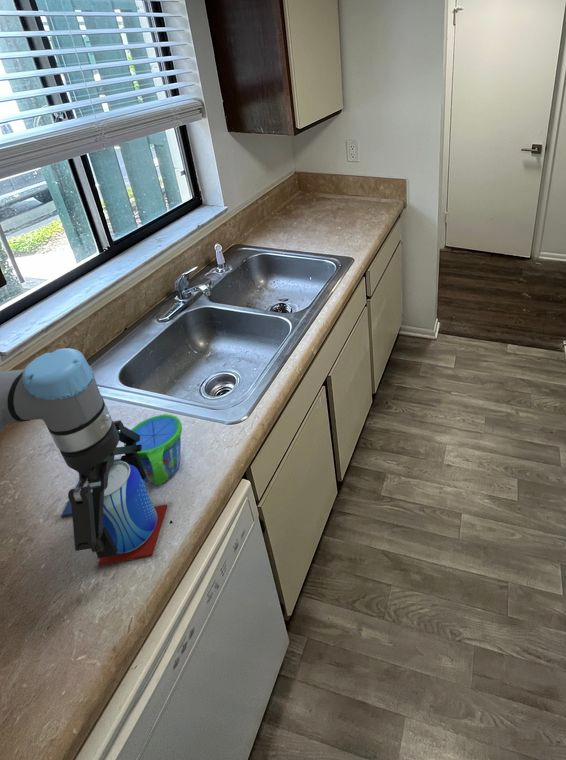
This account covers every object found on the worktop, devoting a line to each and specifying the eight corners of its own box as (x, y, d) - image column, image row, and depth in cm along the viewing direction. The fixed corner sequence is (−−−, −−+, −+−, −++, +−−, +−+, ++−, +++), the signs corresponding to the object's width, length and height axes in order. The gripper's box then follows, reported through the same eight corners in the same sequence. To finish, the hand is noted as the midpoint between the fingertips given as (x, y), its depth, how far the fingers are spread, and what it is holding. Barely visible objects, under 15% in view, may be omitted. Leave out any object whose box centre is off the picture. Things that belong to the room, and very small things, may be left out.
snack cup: (188, 489, 89) (180, 450, 86) (129, 510, 85) (118, 470, 82) (188, 436, 103) (181, 401, 100) (137, 452, 98) (128, 415, 95)
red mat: (98, 565, 78) (97, 564, 78) (119, 514, 86) (118, 512, 86) (152, 555, 80) (151, 553, 79) (167, 506, 88) (166, 504, 87)
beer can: (162, 538, 82) (138, 484, 75) (109, 567, 77) (79, 513, 70) (156, 501, 88) (133, 447, 81) (107, 526, 84) (79, 472, 77)
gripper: (73, 506, 60) (118, 588, 69) (139, 374, 82) (167, 449, 92) (12, 517, 59) (66, 598, 68) (96, 379, 81) (128, 455, 90)
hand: (124, 513), depth 80 cm, fingers open, 13 cm apart
